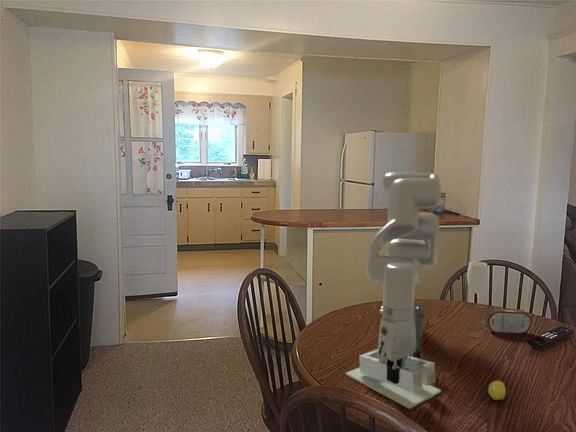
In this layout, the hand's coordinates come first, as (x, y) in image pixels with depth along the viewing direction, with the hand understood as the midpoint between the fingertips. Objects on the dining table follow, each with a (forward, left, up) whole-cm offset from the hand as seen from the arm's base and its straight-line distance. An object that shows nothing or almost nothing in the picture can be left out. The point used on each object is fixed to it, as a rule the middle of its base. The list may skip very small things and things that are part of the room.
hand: (394, 380), depth 121 cm
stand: (-7, +19, -4) cm, 21 cm away
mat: (-4, +4, -4) cm, 7 cm away
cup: (-19, +71, -4) cm, 74 cm away
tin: (-3, +65, -4) cm, 65 cm away
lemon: (+17, +20, -4) cm, 26 cm away
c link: (-2, +4, -1) cm, 5 cm away
